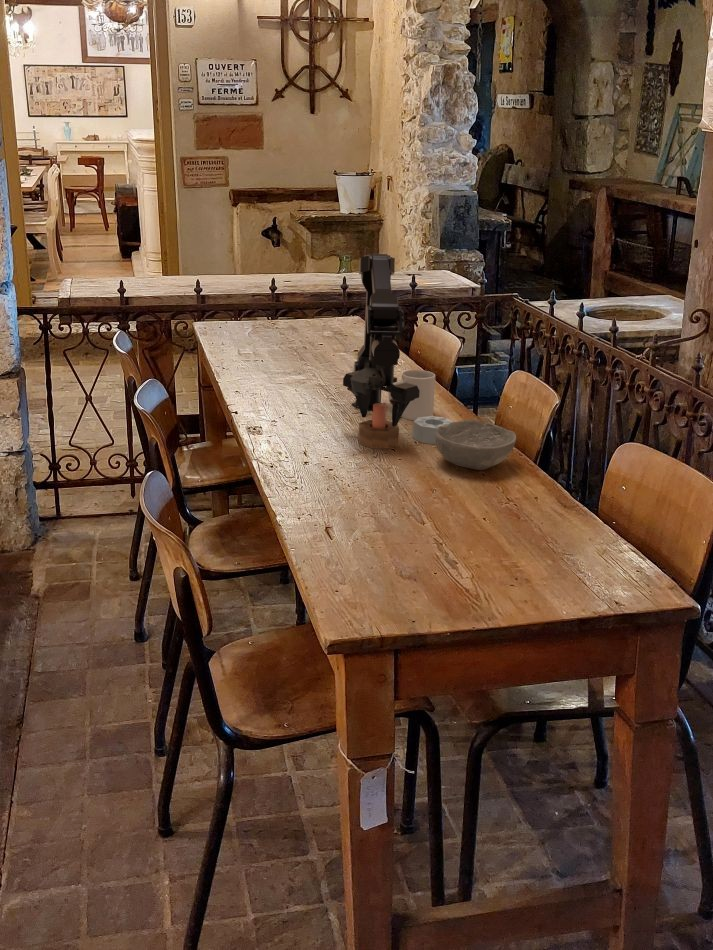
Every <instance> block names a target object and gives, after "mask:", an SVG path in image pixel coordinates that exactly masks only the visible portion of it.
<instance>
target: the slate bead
mask: <svg viewBox="0 0 713 950" xmlns="http://www.w3.org/2000/svg"><path fill="white" fill-rule="evenodd" d="M453 422H454V421H453V420H451V419H449V418H447V417H441V416H434V415H433V416H427V417H419V418H417V419H416V420H413V429H412V439H413V440H416V441H417V442H419V443H422V444H428V445H435V446H436V441H435V434H436V429H437V428H438V427H440V426H444V425H446V424H450V423H453Z"/></svg>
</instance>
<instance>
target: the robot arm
mask: <svg viewBox="0 0 713 950" xmlns="http://www.w3.org/2000/svg"><path fill="white" fill-rule="evenodd" d="M395 264H396V259H395V257H392V256H391V255H389V254H388V253H371V254H364V255H363V256H362V257H361V256H360V257H359V260H358V274H359V275H360V278H361V283H362V285H363V287H364V289H365V290H366V298H365V299H366V300H365V316H364V317H365V318H364V334H363V335H364V338H363V340H364V341H363V345H362V346H361V347H360V349H359V350H358V352H357V354H356V360H355V361H354V363H353V364H354V365H353V370H352V371H351V372H348V373H347V372H346V373H345V374H344V376H343V377H342V386H343V387H347V388H346V389H347V391H349V392H351V394H353V396H354V397H355V402H351V406H354V407H356V408H359V412H360V415H361V417H362V419H364V418H366V417H367V416H368V411H373V404H376V403H381V404H385V403H384V402H382V391H384V392H387V393H389V392H390V395H391V397H392V399H391V400H390V402H391V404H392V408H391V411H392V413H391V422H392V426H396V425H397V424H399V422H400V420H401V418H402V417H401V416H402V414H403V412H404V410H405V409H406V407H407V406H408V404H409V403H410V401H413V400H414V399H416V398H419V393H420V390H419V388H418V386H417V385H413V384H409V383H402V384H399V385H393V383H395V382H397V381H398V377H397V376H394V374H395V366H396V365H398V364H399V359H400V356H401V353H400V348H399V347H398V344H397V341H396V336H403V331H405V311H404V310H403V307H402V306H401V305H400V304H399V298H398V296H397V295H395V294H394V293H393V291H392V282H391V278H392V277H391V276H394V274H395V272H396V271H395V269H396V268H395V266H396V265H395Z"/></svg>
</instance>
